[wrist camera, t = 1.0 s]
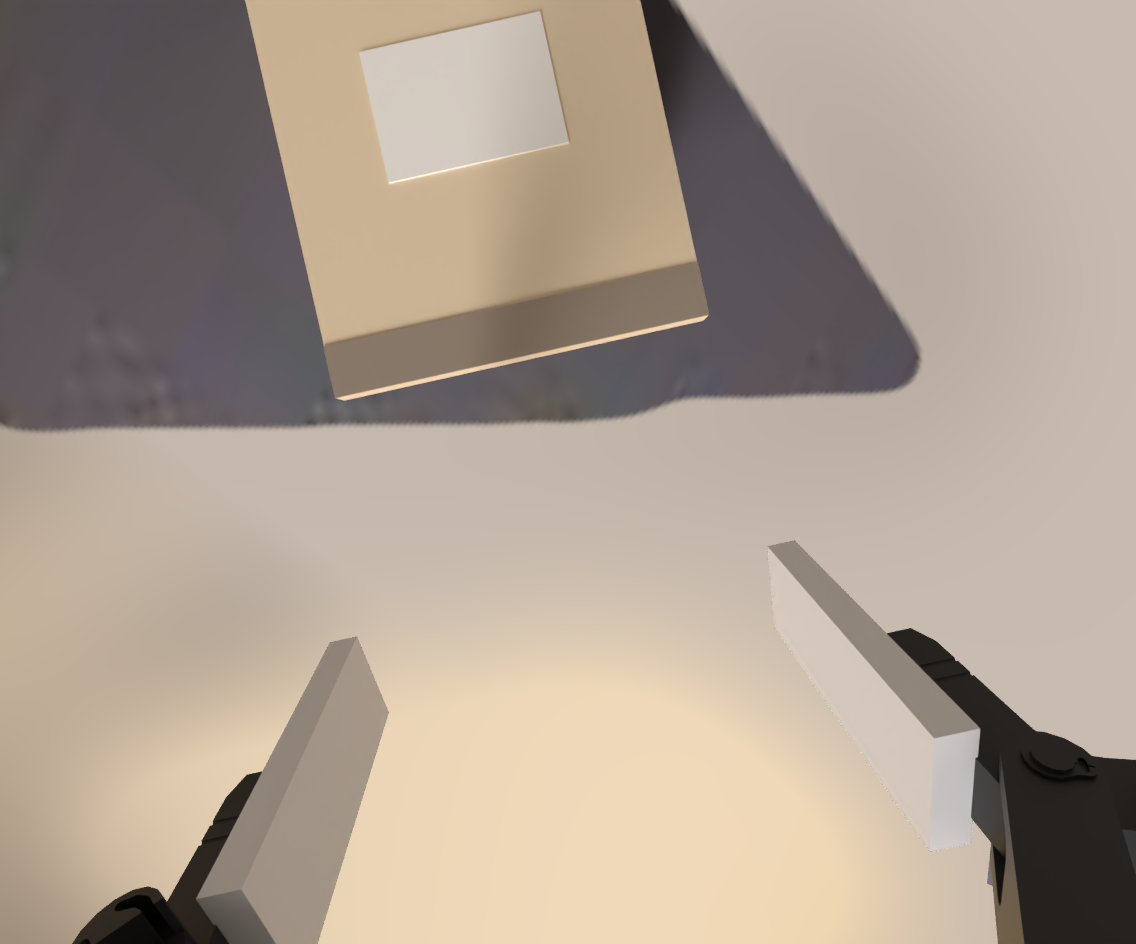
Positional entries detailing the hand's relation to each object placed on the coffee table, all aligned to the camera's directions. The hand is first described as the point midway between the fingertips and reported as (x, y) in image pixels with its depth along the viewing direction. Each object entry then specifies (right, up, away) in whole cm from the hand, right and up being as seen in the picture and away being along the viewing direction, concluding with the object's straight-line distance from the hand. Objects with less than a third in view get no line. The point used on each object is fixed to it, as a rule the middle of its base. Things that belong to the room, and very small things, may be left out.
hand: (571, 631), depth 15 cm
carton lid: (-4, +19, +6) cm, 21 cm away
